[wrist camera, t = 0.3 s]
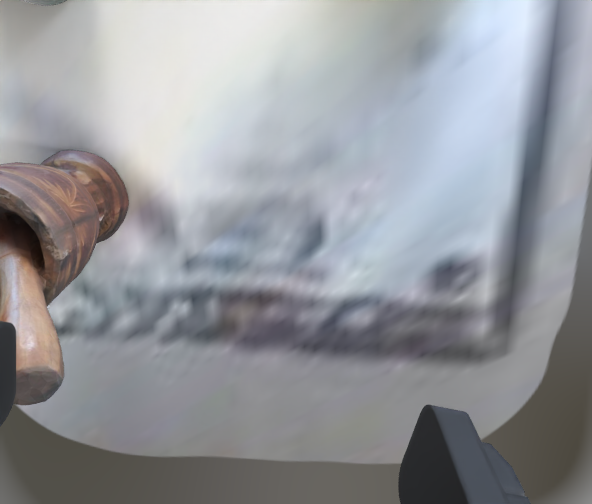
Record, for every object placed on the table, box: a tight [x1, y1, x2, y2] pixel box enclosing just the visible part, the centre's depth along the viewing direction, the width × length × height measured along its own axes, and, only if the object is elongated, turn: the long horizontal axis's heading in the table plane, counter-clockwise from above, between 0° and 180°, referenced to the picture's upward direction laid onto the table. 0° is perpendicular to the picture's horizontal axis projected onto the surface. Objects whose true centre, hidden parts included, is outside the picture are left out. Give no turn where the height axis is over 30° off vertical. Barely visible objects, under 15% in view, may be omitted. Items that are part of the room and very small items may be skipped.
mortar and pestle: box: [0, 150, 129, 405], centre depth 29 cm, size 12×9×20 cm
